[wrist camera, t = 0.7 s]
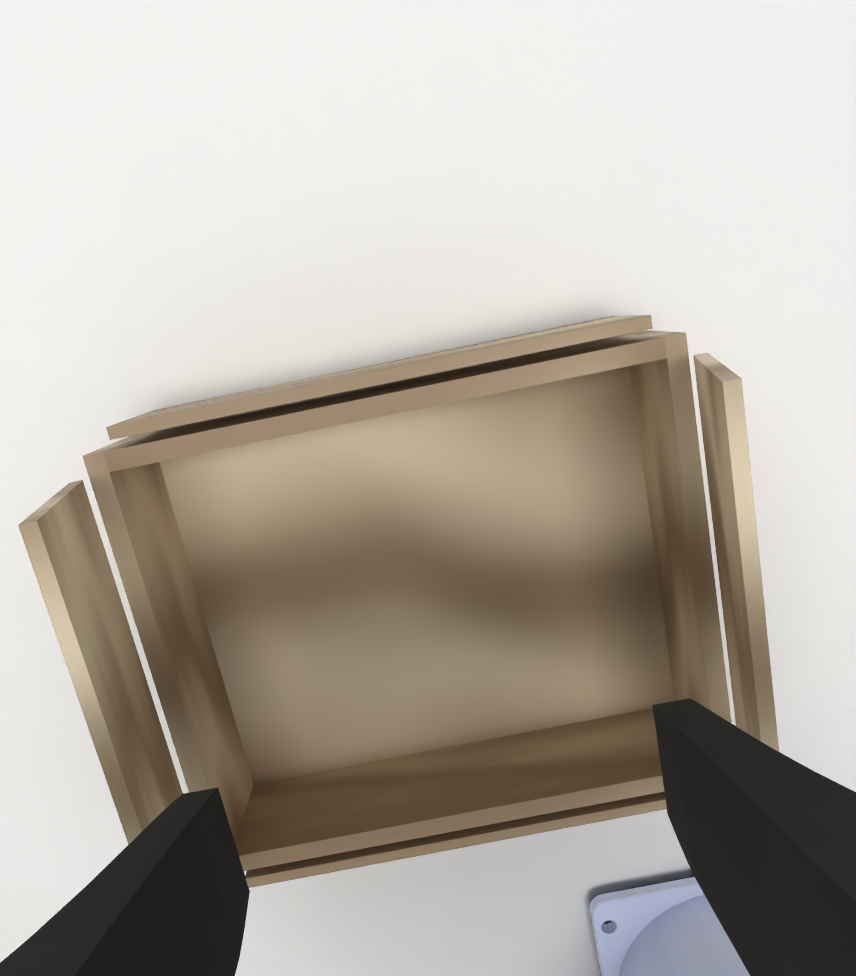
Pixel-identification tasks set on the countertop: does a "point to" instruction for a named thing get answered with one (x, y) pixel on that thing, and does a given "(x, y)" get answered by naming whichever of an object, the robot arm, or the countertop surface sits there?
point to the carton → (424, 592)
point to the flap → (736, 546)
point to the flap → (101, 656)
